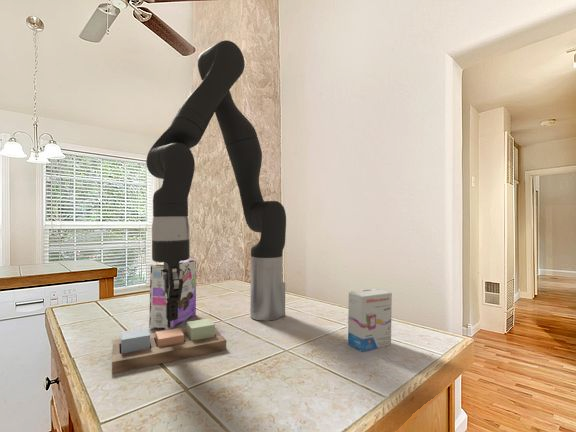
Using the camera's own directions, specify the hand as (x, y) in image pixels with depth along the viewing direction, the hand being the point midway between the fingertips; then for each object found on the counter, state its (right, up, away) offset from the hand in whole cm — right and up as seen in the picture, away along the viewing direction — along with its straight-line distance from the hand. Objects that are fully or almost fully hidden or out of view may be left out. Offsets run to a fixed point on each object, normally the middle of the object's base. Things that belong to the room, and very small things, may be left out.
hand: (171, 319), depth 65 cm
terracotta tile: (0, -6, 0) cm, 6 cm away
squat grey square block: (-6, -5, -3) cm, 8 cm away
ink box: (+43, -7, +2) cm, 43 cm away
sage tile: (+5, -5, +3) cm, 8 cm away
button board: (0, -6, 0) cm, 6 cm away
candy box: (-6, -7, +18) cm, 20 cm away
